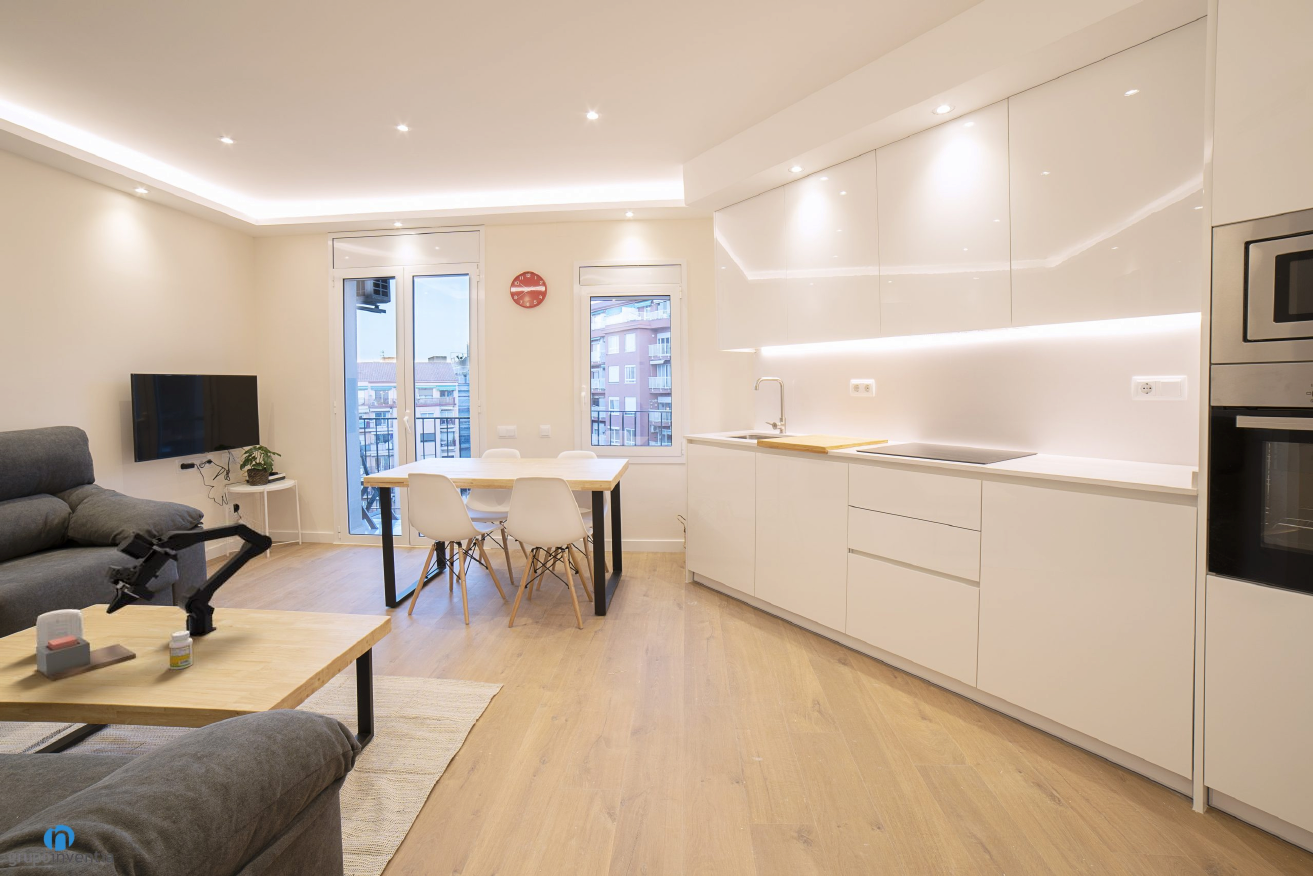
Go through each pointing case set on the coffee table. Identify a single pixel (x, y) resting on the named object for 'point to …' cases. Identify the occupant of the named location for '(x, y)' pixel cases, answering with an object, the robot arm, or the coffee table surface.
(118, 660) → the board
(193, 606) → the robot arm
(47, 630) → the photo printer
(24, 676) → the coffee table surface
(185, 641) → the supplement bottle
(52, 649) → the plug
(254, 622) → the coffee table surface
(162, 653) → the coffee table surface
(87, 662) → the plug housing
